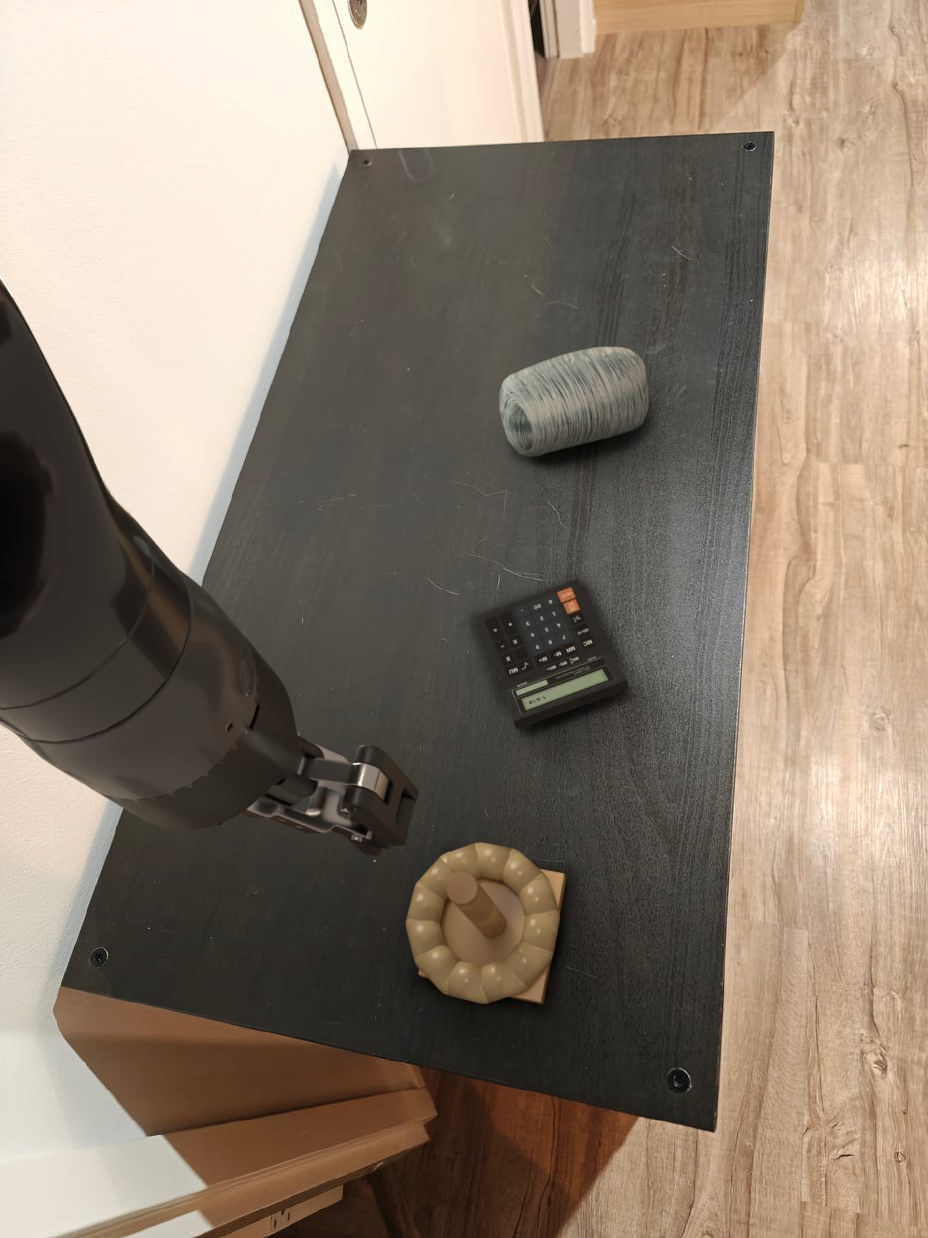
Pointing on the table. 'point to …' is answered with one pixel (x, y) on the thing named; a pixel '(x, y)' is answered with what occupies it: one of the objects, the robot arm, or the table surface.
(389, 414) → the table surface
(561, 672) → the calculator
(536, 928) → the segmented beige ring
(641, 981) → the table surface
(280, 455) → the table surface
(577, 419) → the spool
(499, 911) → the wooden peg stand
